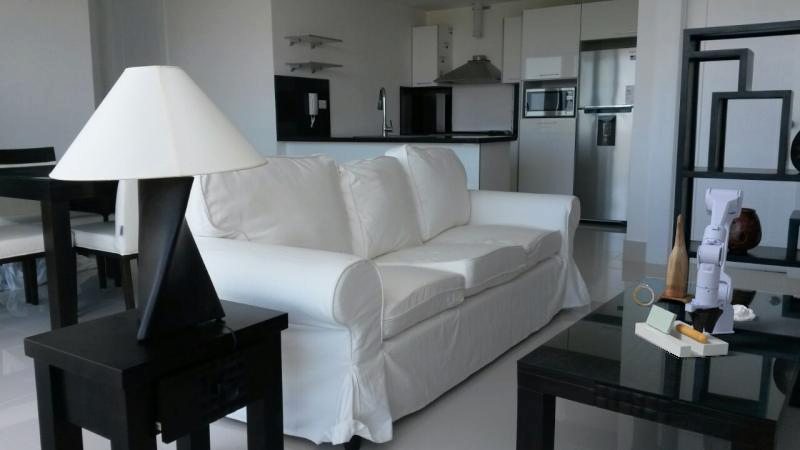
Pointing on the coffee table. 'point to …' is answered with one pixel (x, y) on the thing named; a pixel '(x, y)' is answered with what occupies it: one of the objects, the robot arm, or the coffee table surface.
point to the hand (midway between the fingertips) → (703, 333)
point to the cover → (661, 319)
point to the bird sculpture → (677, 269)
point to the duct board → (681, 341)
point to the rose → (743, 313)
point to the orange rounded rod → (691, 333)
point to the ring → (644, 288)
